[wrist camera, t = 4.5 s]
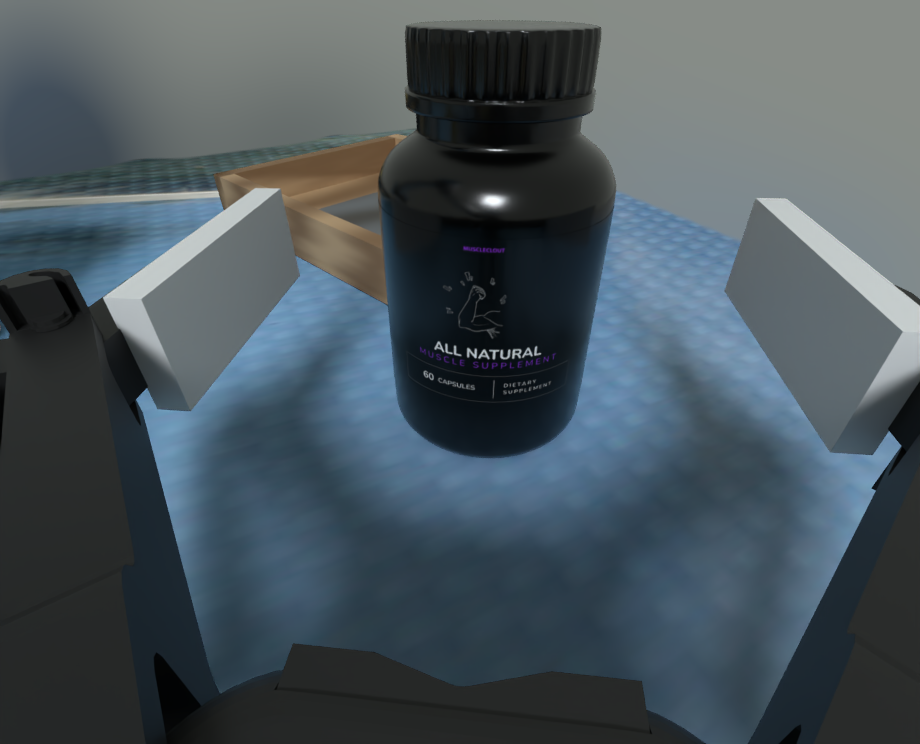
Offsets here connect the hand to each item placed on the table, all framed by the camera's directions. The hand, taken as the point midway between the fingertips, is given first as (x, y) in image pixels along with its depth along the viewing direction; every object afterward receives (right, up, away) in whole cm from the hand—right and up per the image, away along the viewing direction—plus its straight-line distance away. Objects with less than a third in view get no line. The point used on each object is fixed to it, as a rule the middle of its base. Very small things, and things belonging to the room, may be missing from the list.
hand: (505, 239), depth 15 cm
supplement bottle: (0, -5, +5) cm, 7 cm away
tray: (-5, +7, +20) cm, 22 cm away
